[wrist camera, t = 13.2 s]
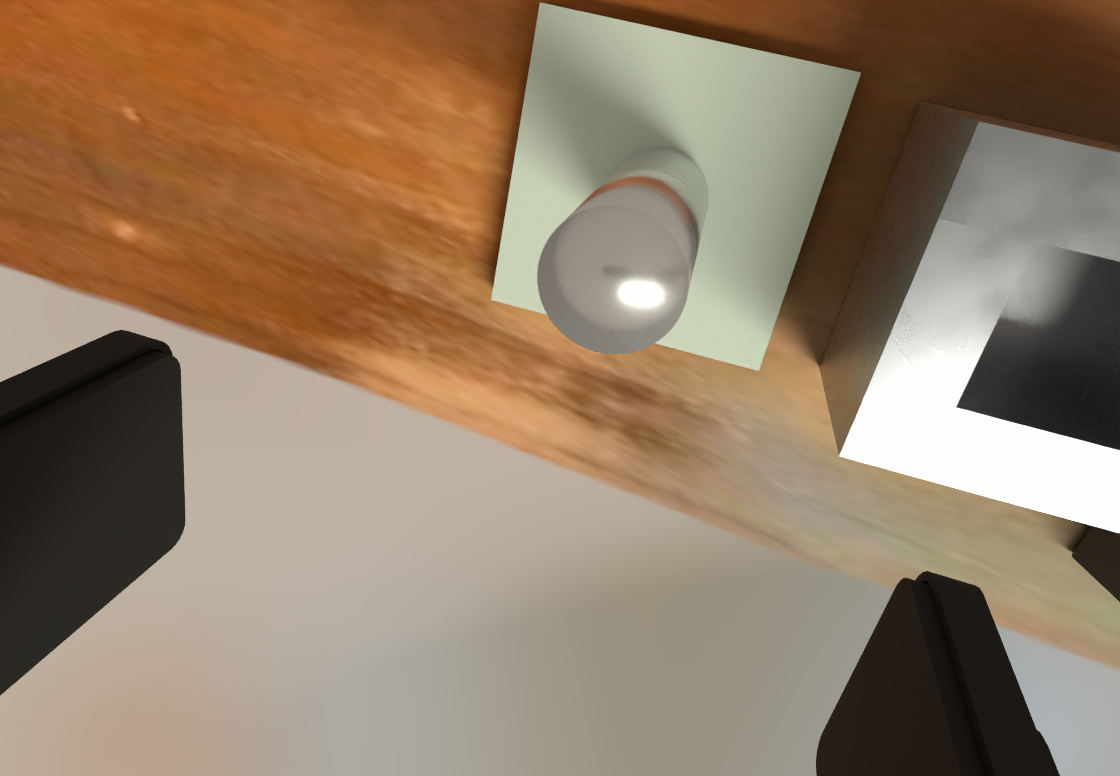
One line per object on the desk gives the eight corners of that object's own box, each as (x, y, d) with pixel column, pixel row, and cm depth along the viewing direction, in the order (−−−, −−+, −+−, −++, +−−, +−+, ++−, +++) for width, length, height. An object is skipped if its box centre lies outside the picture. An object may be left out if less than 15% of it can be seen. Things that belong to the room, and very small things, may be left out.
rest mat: (857, 71, 28) (860, 72, 28) (758, 362, 34) (758, 370, 33) (545, 3, 30) (539, 2, 29) (497, 293, 35) (491, 299, 34)
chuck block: (1236, 170, 27) (1410, 217, 20) (1083, 436, 32) (1179, 549, 25) (920, 101, 28) (979, 121, 21) (819, 366, 33) (839, 456, 26)
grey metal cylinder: (721, 160, 30) (707, 227, 19) (693, 258, 32) (666, 370, 21) (621, 136, 30) (552, 188, 20) (599, 235, 32) (525, 332, 21)
